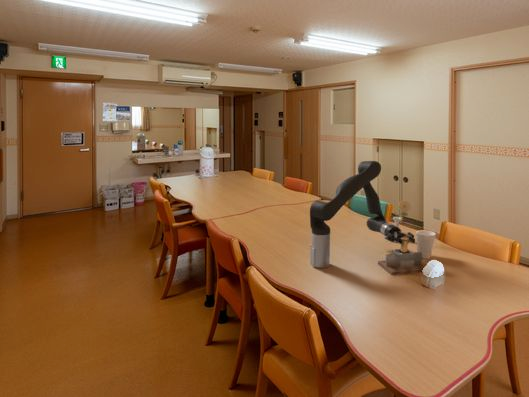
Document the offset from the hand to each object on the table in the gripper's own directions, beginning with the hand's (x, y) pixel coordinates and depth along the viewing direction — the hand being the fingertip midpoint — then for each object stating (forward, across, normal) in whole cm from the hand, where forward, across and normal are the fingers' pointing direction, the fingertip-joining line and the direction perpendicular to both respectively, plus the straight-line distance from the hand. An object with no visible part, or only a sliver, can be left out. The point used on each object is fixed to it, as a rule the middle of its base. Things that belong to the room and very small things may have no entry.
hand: (407, 241), depth 177 cm
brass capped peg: (-3, 0, +13) cm, 13 cm away
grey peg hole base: (-2, 0, +14) cm, 15 cm away
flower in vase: (-42, +19, +15) cm, 49 cm away
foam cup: (-14, +19, +15) cm, 28 cm away
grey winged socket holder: (-2, 0, +13) cm, 13 cm away
